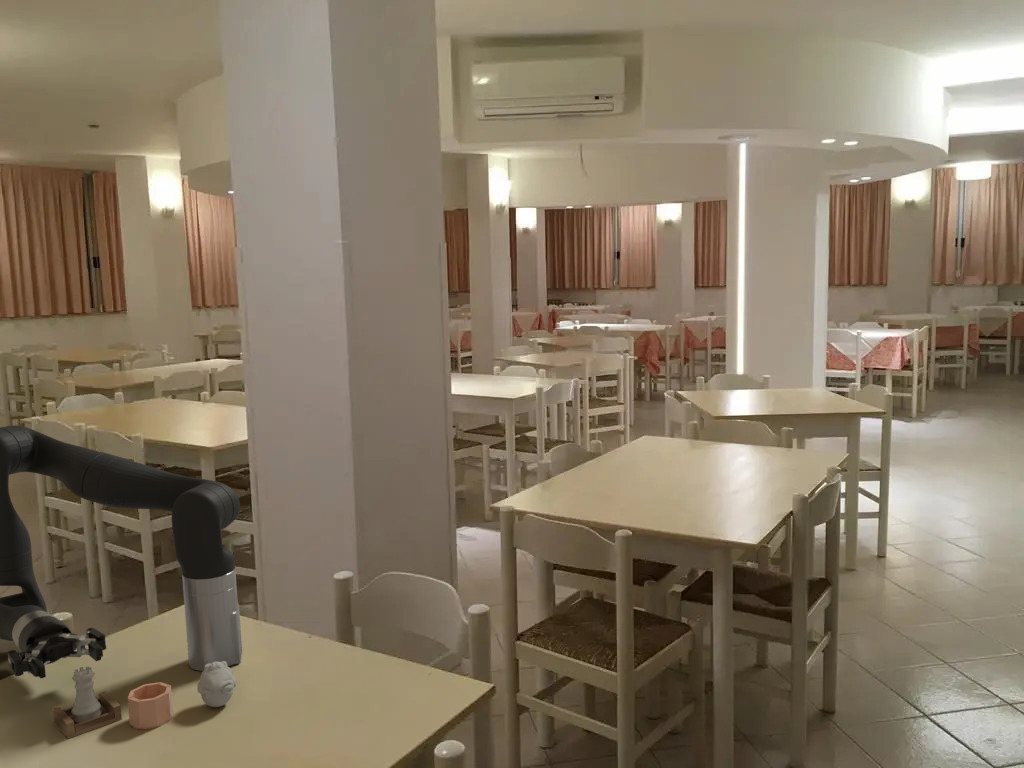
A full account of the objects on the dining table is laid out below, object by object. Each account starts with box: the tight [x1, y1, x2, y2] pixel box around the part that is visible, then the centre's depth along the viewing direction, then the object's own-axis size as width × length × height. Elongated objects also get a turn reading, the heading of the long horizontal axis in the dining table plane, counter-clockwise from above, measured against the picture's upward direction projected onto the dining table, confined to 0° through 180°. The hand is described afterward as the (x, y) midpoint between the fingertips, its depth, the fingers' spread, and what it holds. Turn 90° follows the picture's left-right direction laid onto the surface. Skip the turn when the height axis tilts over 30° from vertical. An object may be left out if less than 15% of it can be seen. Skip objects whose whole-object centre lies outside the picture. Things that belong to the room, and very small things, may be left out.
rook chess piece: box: [71, 666, 102, 723], centre depth 136 cm, size 4×4×8 cm
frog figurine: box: [197, 661, 237, 708], centre depth 140 cm, size 6×7×7 cm
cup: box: [127, 681, 174, 730], centre depth 136 cm, size 6×6×5 cm
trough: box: [52, 691, 123, 739], centre depth 136 cm, size 7×8×2 cm
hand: (71, 663), depth 139 cm, fingers open, 8 cm apart
